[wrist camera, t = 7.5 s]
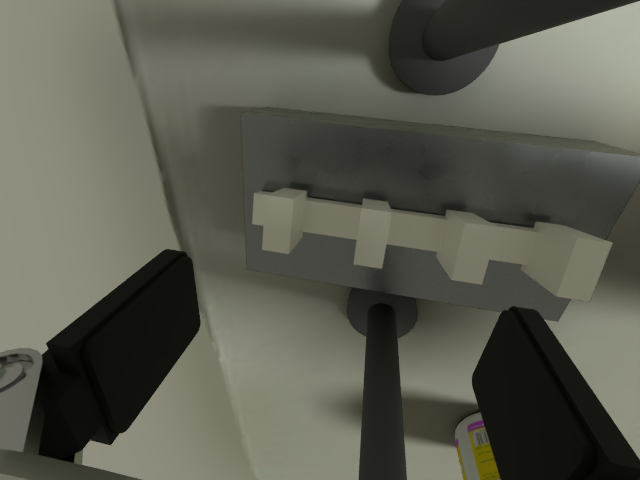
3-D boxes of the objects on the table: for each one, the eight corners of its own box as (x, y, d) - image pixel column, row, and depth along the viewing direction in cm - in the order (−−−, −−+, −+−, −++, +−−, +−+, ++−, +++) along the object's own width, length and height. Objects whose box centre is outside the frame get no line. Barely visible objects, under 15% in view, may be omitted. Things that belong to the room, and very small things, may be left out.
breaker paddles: (589, 227, 14) (655, 248, 11) (571, 274, 15) (629, 307, 12) (260, 183, 16) (233, 190, 13) (258, 227, 17) (231, 244, 14)
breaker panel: (594, 141, 16) (653, 158, 13) (527, 280, 21) (557, 321, 17) (267, 107, 18) (240, 113, 15) (267, 240, 23) (246, 269, 19)
